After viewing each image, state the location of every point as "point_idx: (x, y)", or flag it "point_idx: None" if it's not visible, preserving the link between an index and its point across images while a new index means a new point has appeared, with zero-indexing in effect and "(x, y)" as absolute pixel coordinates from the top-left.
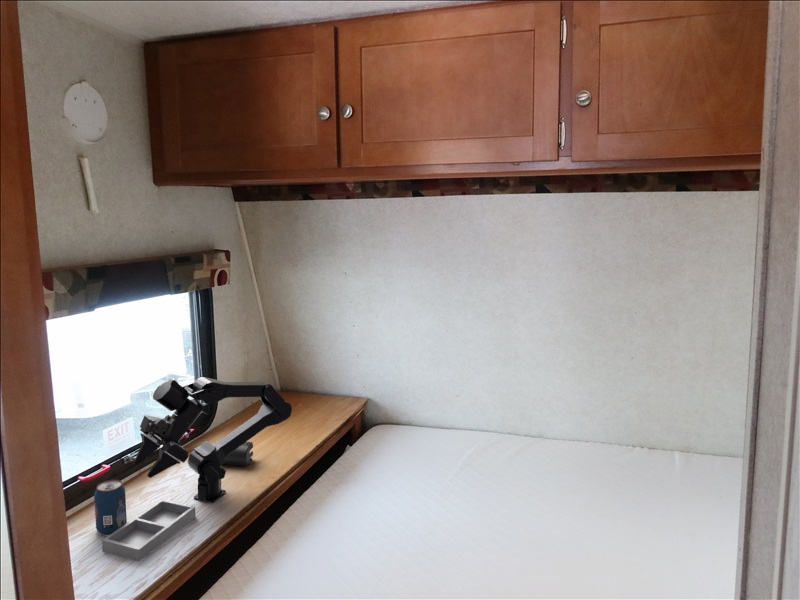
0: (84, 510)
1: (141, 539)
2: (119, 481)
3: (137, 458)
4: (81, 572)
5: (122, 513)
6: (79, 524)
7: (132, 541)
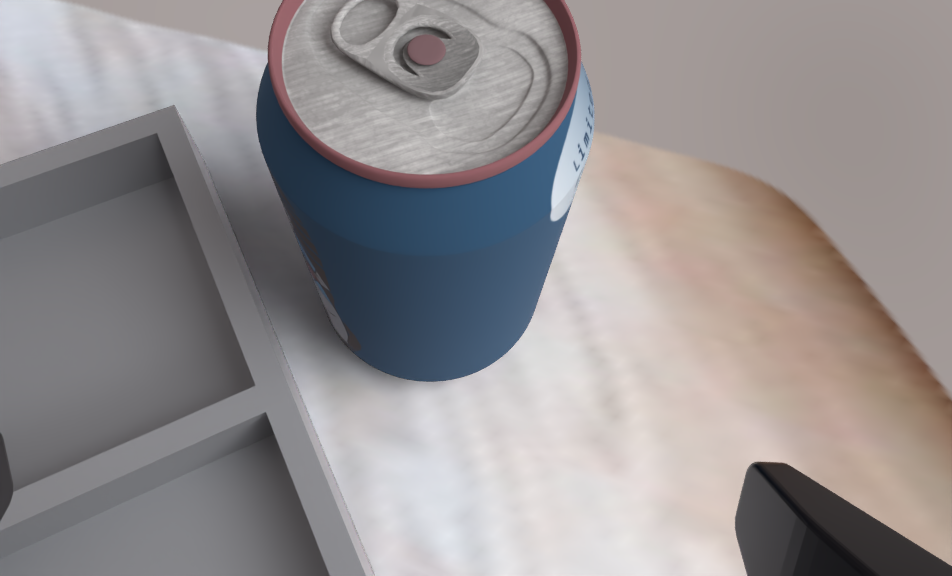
0: (825, 249)
1: (88, 374)
2: (458, 173)
3: (804, 531)
4: (100, 19)
5: (312, 277)
6: (643, 168)
7: (121, 316)
